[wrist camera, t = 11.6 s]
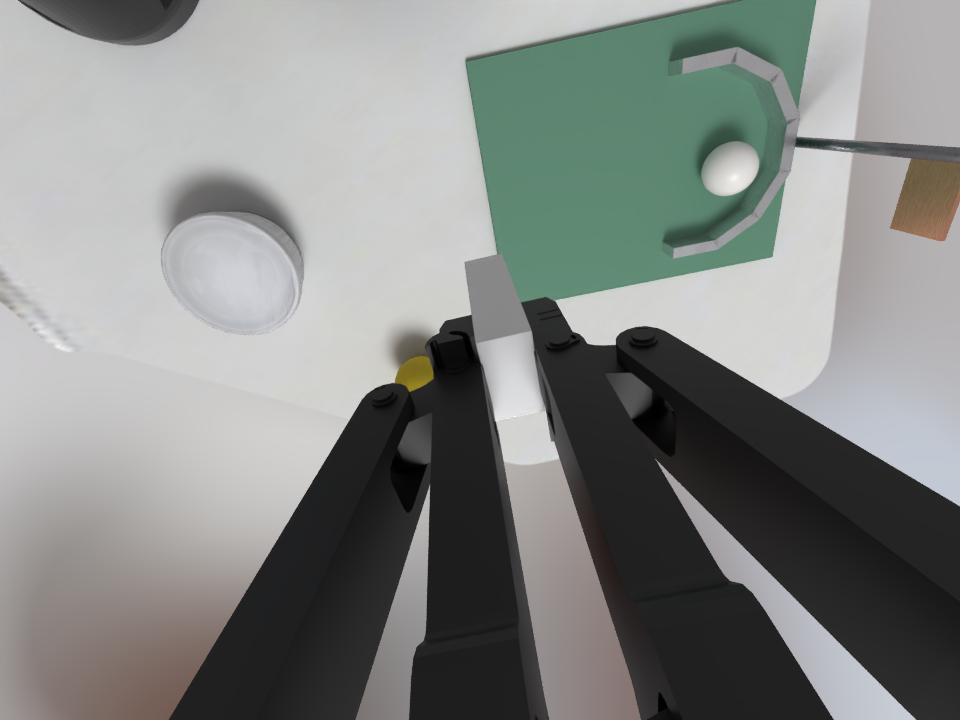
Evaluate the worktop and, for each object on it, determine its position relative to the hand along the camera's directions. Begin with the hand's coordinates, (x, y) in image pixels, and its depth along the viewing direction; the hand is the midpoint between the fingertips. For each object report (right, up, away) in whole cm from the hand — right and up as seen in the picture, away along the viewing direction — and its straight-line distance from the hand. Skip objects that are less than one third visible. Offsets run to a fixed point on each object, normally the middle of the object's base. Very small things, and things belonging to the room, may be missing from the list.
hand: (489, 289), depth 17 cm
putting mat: (+14, +15, +22) cm, 30 cm away
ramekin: (-22, +7, +24) cm, 34 cm away
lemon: (-7, -3, +31) cm, 32 cm away
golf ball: (+22, +14, +20) cm, 33 cm away
